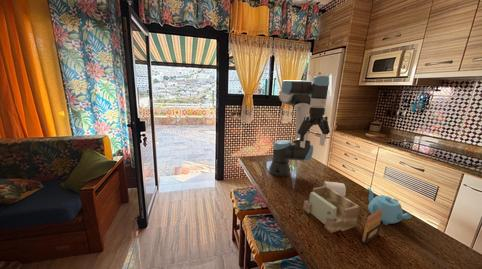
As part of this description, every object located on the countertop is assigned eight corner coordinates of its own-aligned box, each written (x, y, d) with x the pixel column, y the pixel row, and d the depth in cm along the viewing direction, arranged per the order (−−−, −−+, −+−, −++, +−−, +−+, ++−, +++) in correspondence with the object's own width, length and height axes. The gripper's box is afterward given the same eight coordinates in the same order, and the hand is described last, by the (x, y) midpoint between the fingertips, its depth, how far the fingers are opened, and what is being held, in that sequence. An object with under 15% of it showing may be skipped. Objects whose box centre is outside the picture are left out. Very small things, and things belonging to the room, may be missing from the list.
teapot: (365, 221, 88) (370, 199, 85) (363, 206, 100) (367, 186, 97) (407, 233, 81) (414, 210, 78) (399, 216, 93) (405, 195, 90)
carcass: (302, 208, 96) (304, 190, 93) (323, 202, 101) (325, 185, 99) (332, 234, 79) (336, 213, 76) (356, 226, 84) (360, 206, 82)
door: (306, 210, 94) (308, 192, 91) (311, 209, 95) (313, 191, 93) (328, 229, 82) (331, 209, 79) (333, 227, 83) (336, 207, 80)
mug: (344, 200, 104) (346, 187, 102) (325, 198, 106) (327, 185, 104) (338, 190, 116) (340, 178, 114) (320, 187, 117) (322, 175, 116)
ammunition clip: (365, 243, 75) (371, 217, 72) (360, 240, 76) (366, 214, 73) (378, 234, 80) (384, 209, 77) (373, 231, 82) (379, 206, 79)
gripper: (303, 107, 90) (298, 150, 95) (340, 107, 100) (334, 146, 104) (293, 106, 97) (289, 145, 102) (329, 106, 106) (324, 142, 111)
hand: (312, 146), depth 103 cm, fingers open, 13 cm apart
